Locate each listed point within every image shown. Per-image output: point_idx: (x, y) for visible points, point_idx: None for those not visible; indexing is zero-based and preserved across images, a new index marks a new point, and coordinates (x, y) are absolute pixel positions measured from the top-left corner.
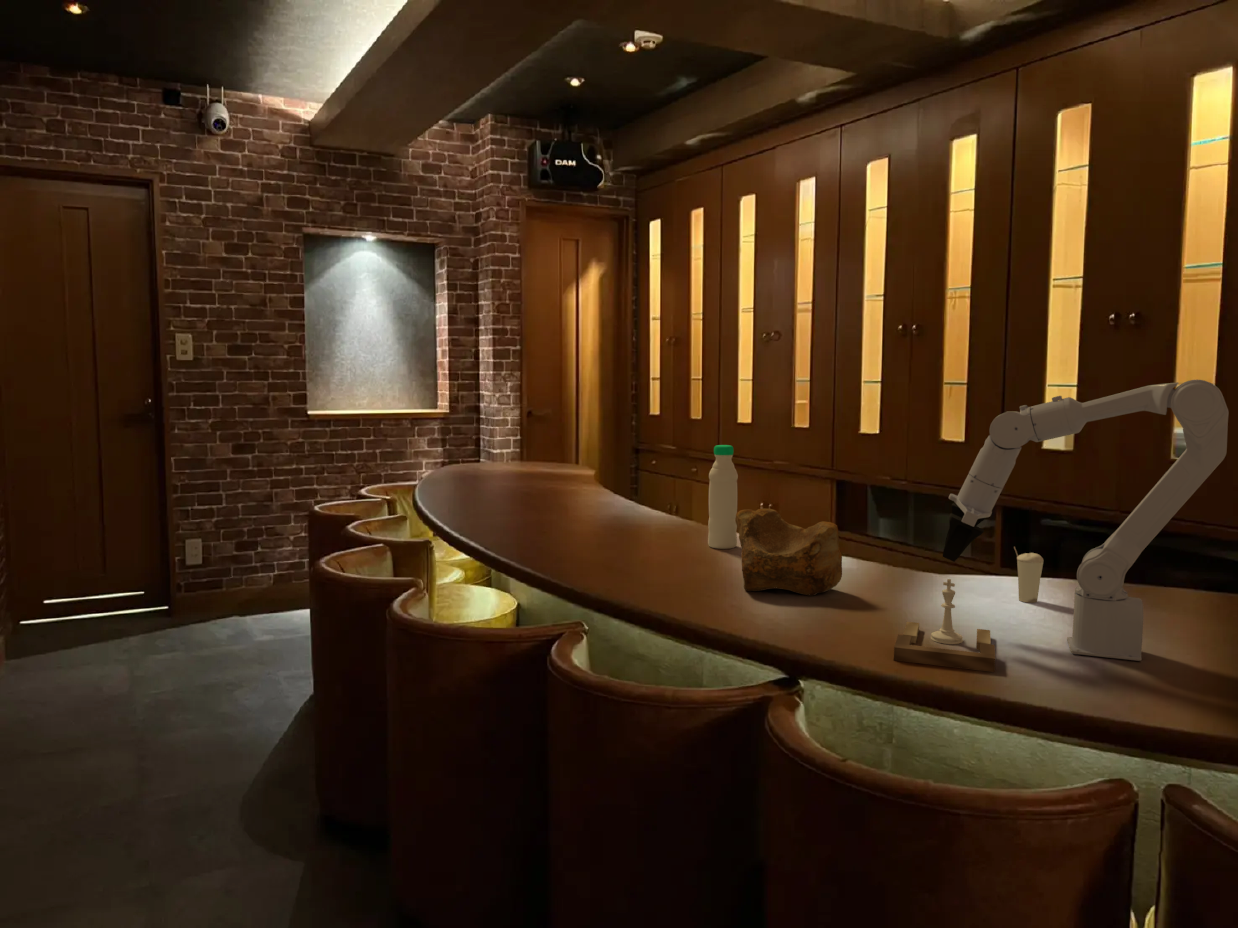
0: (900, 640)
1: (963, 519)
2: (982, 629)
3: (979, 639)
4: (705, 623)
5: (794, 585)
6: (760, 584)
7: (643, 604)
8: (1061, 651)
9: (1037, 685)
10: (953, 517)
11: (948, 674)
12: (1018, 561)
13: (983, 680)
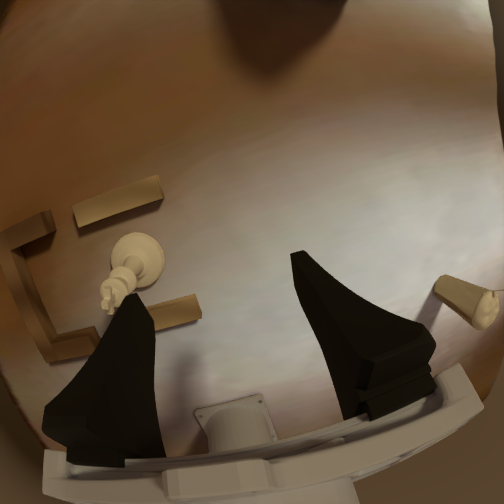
0: (18, 230)
1: (46, 460)
2: (197, 307)
3: None
4: None
5: None
6: None
7: None
8: (201, 398)
9: (55, 393)
10: (44, 433)
11: (8, 309)
12: (479, 296)
13: (22, 347)
